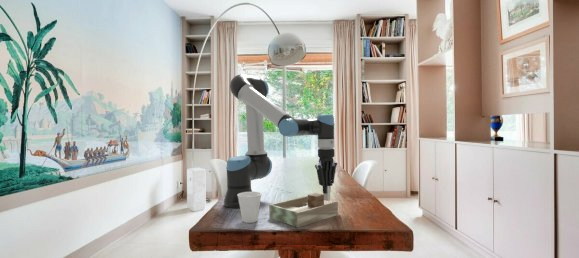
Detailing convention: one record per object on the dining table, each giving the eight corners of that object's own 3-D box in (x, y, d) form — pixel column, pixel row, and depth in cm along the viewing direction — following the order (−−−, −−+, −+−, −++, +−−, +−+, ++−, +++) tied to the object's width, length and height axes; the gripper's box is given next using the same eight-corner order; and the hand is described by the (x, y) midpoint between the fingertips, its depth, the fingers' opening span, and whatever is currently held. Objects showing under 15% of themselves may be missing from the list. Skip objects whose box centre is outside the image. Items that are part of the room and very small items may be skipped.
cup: (258, 225, 123) (257, 197, 123) (233, 224, 125) (233, 196, 125) (265, 218, 133) (264, 191, 133) (242, 216, 135) (242, 191, 135)
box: (269, 217, 133) (269, 204, 133) (308, 207, 149) (308, 195, 149) (298, 227, 120) (298, 213, 120) (337, 214, 136) (337, 202, 136)
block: (307, 206, 140) (307, 194, 140) (315, 204, 143) (315, 192, 143) (316, 208, 136) (316, 196, 136) (323, 206, 139) (323, 194, 139)
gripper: (322, 149, 137) (323, 204, 137) (341, 147, 146) (342, 199, 146) (310, 148, 143) (310, 201, 143) (329, 147, 151) (329, 196, 152)
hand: (326, 200), depth 145 cm, fingers closed
